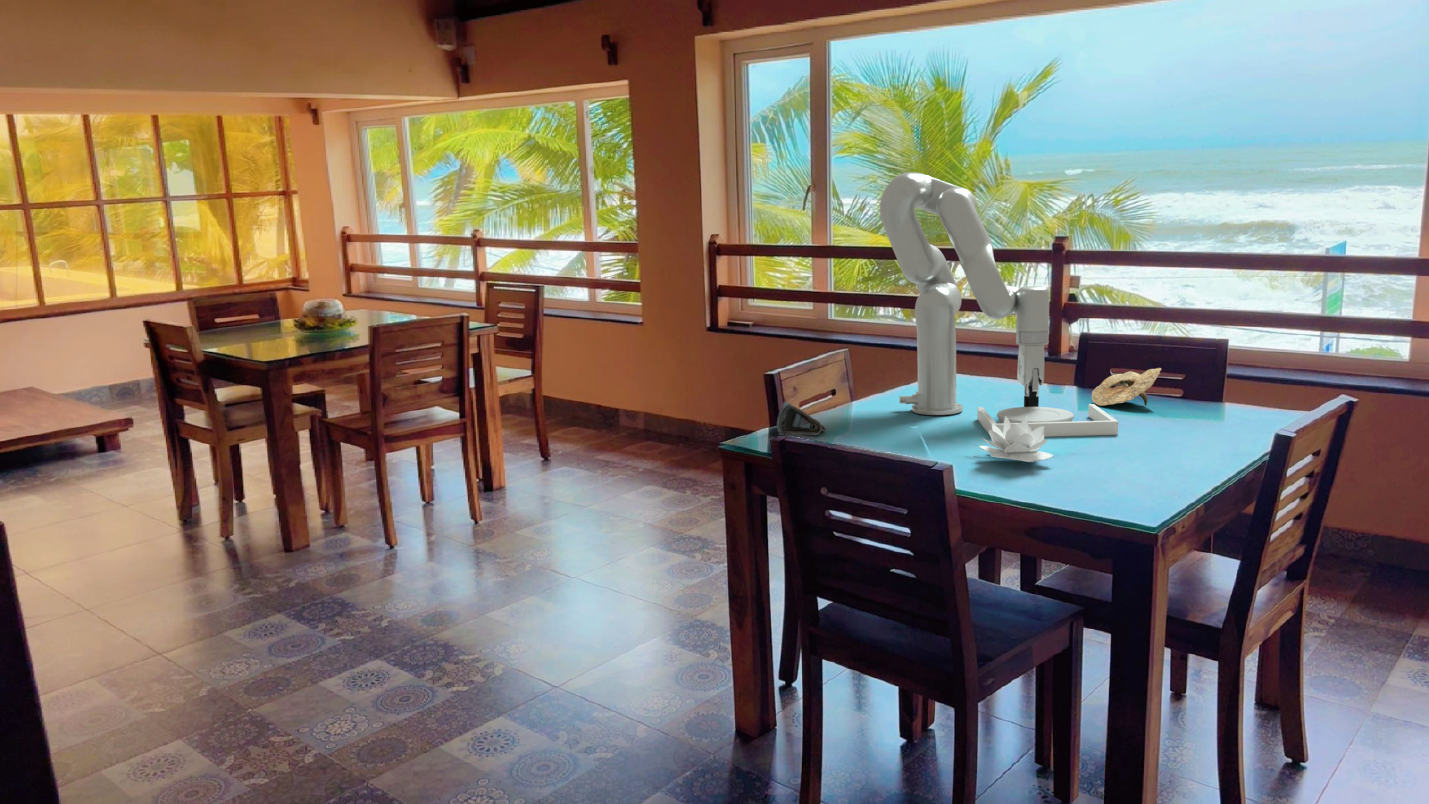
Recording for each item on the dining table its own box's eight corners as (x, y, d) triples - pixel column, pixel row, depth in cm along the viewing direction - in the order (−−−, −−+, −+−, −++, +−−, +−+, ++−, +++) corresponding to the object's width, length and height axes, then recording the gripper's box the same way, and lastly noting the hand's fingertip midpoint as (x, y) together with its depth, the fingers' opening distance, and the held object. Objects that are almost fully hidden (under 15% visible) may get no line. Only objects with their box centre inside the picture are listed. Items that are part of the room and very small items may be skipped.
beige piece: (1089, 427, 269) (1076, 401, 268) (1112, 403, 278) (1100, 377, 277) (1154, 413, 255) (1141, 385, 254) (1177, 388, 264) (1164, 361, 263)
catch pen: (992, 437, 237) (992, 424, 237) (977, 419, 257) (977, 407, 256) (1118, 434, 235) (1118, 421, 234) (1093, 416, 255) (1093, 403, 254)
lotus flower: (1040, 469, 210) (1040, 426, 208) (967, 461, 218) (967, 420, 217) (1062, 453, 221) (1062, 412, 220) (992, 446, 230) (992, 407, 228)
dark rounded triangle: (837, 430, 250) (808, 393, 255) (824, 428, 244) (794, 390, 249) (810, 457, 253) (782, 420, 259) (796, 455, 247) (767, 418, 253)
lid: (1032, 440, 235) (1032, 426, 234) (982, 423, 254) (982, 411, 253) (1097, 431, 240) (1097, 418, 240) (1044, 416, 259) (1044, 404, 258)
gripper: (1011, 334, 264) (1010, 406, 267) (1021, 342, 249) (1020, 418, 253) (1042, 333, 263) (1040, 405, 266) (1054, 341, 248) (1053, 418, 252)
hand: (1031, 411), depth 260 cm, fingers closed
